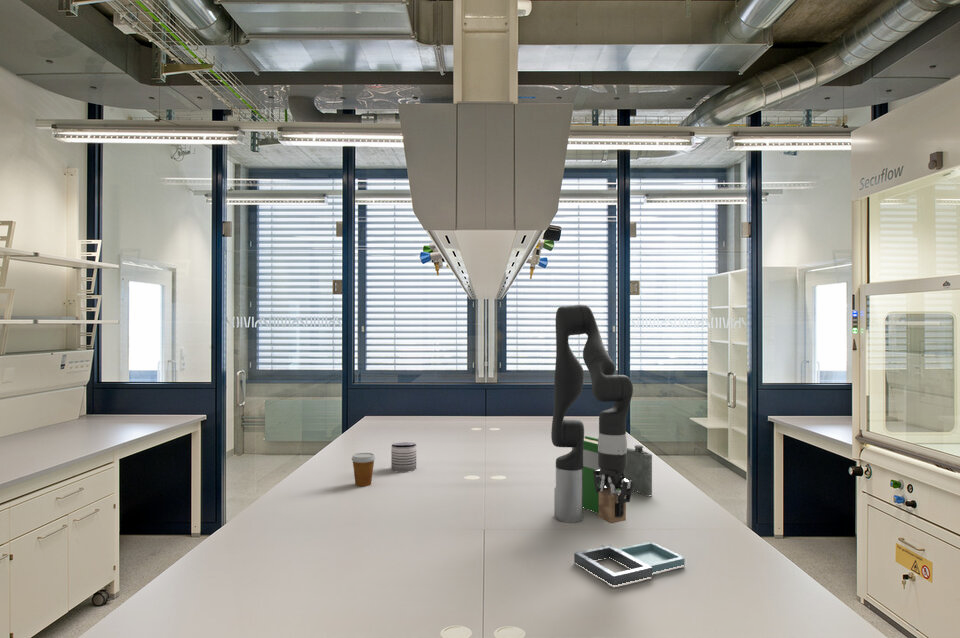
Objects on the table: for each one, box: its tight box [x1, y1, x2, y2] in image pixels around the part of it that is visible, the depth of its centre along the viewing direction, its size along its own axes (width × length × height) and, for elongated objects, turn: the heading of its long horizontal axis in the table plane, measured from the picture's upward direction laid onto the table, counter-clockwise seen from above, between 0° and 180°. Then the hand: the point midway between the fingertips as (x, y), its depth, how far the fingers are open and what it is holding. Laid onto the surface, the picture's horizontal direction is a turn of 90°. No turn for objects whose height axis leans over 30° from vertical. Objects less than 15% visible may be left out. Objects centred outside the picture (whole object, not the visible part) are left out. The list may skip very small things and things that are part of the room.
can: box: [390, 441, 417, 473], centre depth 264 cm, size 11×11×12 cm
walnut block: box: [598, 490, 627, 524], centre depth 156 cm, size 5×5×7 cm
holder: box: [573, 544, 653, 585], centre depth 155 cm, size 17×12×3 cm
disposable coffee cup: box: [351, 452, 376, 487], centre depth 239 cm, size 10×10×12 cm
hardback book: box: [571, 435, 620, 514], centre depth 209 cm, size 18×7×24 cm, turn 33°
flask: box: [624, 444, 653, 496], centre depth 230 cm, size 4×14×18 cm, turn 28°
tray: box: [617, 541, 685, 573], centre depth 161 cm, size 13×13×2 cm
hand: (612, 513), depth 156 cm, fingers closed on walnut block, 5 cm apart
